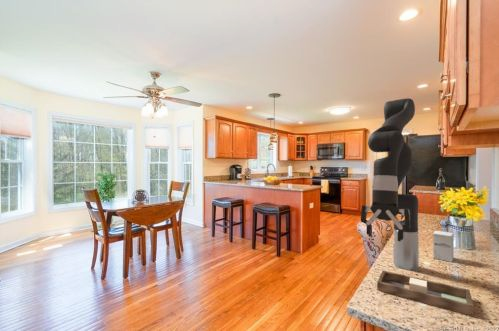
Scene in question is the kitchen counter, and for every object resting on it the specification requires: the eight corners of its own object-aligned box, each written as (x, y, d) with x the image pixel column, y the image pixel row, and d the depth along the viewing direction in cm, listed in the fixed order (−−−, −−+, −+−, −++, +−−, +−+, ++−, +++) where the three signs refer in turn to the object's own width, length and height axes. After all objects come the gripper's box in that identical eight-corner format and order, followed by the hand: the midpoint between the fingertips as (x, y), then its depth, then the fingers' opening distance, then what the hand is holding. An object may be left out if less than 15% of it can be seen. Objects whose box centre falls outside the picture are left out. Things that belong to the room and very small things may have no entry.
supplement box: (432, 258, 119) (432, 232, 119) (435, 254, 124) (434, 229, 124) (452, 262, 113) (451, 235, 113) (454, 258, 118) (453, 232, 118)
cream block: (409, 294, 85) (409, 282, 85) (410, 288, 89) (410, 277, 89) (426, 298, 82) (426, 286, 82) (427, 292, 86) (426, 281, 86)
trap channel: (377, 292, 88) (377, 282, 88) (383, 280, 97) (382, 270, 97) (474, 319, 72) (473, 306, 72) (469, 301, 82) (469, 289, 82)
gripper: (411, 191, 80) (411, 241, 78) (364, 189, 88) (363, 233, 87) (409, 190, 74) (408, 244, 72) (359, 188, 83) (358, 236, 81)
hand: (384, 238), depth 79 cm, fingers open, 8 cm apart
